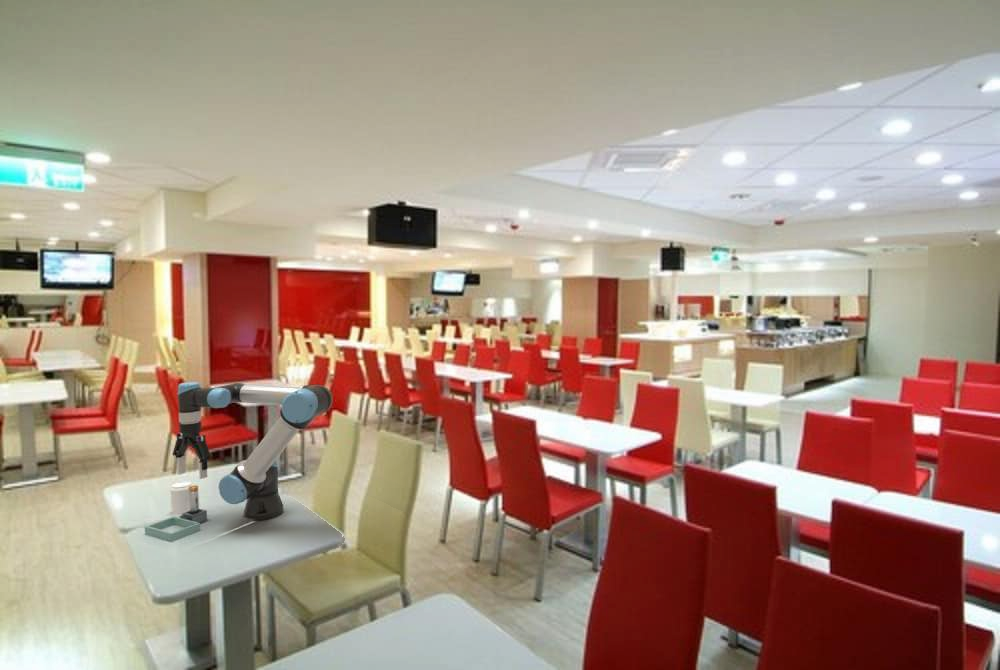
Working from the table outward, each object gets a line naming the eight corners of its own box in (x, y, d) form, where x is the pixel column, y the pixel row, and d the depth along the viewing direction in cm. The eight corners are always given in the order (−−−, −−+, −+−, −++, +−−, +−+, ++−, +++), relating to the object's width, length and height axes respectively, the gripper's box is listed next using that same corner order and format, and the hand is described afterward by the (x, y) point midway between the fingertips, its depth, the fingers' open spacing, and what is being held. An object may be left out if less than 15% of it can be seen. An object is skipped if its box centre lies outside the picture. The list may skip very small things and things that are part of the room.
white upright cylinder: (198, 509, 229) (197, 481, 228) (185, 516, 221) (184, 487, 220) (180, 508, 230) (179, 481, 229) (167, 516, 221) (165, 487, 221)
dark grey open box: (211, 522, 214) (210, 509, 214) (191, 529, 207) (191, 516, 206) (192, 517, 219) (191, 505, 219) (172, 524, 212) (171, 512, 212)
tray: (200, 532, 203) (200, 523, 203) (171, 544, 194) (171, 533, 194) (174, 526, 211) (173, 516, 211) (145, 536, 201) (144, 526, 201)
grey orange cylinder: (201, 521, 213) (199, 486, 212) (193, 523, 210) (192, 488, 209) (196, 519, 214) (194, 485, 214) (188, 522, 211) (186, 487, 211)
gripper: (220, 422, 208) (221, 477, 209) (179, 417, 219) (181, 469, 220) (201, 426, 201) (203, 482, 202) (161, 421, 213) (163, 474, 214)
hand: (192, 475), depth 211 cm, fingers open, 13 cm apart
